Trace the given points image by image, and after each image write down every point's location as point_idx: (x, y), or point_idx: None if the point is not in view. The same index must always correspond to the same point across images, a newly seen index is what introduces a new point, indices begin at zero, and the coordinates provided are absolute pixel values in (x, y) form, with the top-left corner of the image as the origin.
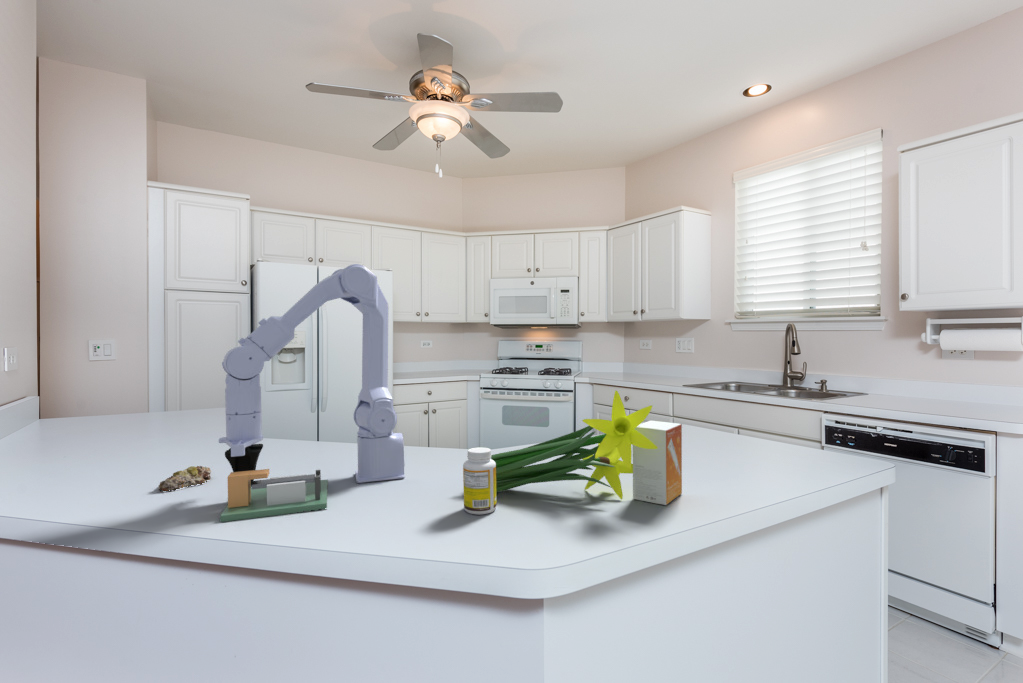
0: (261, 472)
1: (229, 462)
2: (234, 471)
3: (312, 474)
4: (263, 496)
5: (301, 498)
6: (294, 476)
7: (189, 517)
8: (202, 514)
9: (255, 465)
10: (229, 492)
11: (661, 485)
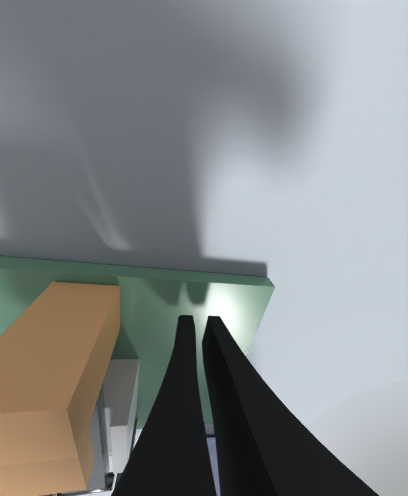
0: (21, 487)
1: (126, 469)
2: (160, 388)
3: (104, 485)
4: (149, 346)
5: None
6: (102, 465)
7: (73, 150)
8: (97, 195)
9: (216, 434)
10: (11, 330)
11: None
